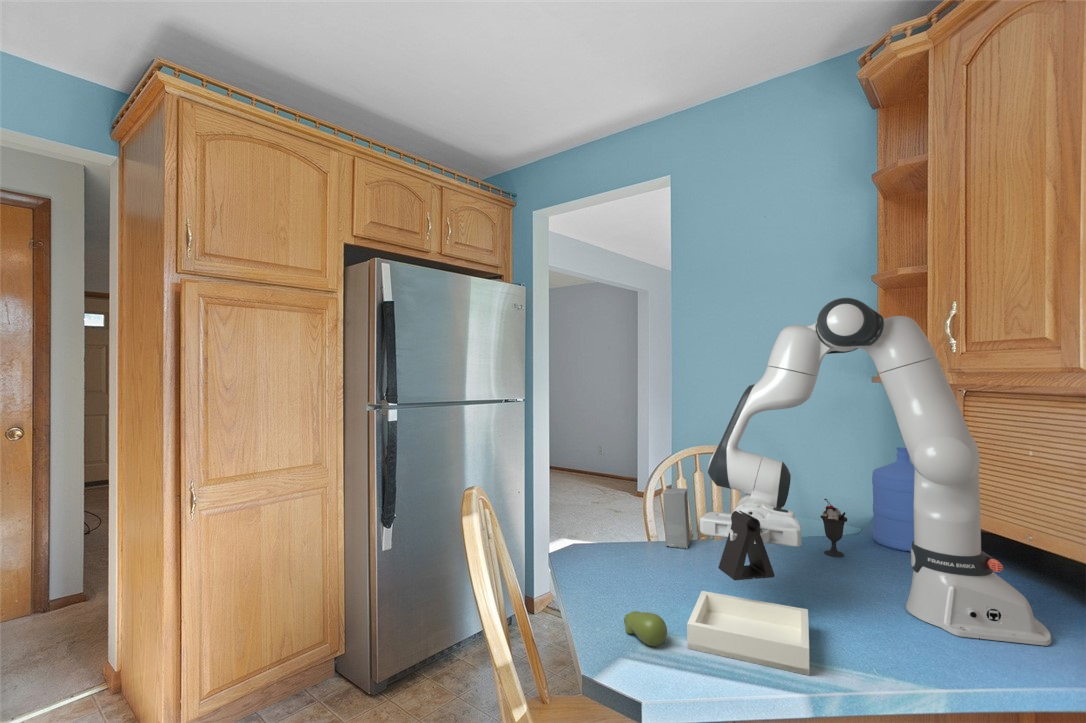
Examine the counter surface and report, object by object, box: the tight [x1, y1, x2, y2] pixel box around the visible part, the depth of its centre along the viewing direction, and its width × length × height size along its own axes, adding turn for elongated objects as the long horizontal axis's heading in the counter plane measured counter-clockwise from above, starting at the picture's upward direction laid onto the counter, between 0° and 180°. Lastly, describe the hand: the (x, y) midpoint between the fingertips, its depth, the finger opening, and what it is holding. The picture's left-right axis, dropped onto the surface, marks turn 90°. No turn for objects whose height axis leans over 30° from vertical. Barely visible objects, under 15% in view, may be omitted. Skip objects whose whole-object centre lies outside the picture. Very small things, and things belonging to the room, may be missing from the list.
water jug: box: [871, 447, 915, 553], centre depth 154 cm, size 16×16×28 cm
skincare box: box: [662, 487, 691, 550], centre depth 155 cm, size 8×7×16 cm
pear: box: [623, 610, 668, 647], centre depth 100 cm, size 6×5×10 cm
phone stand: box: [718, 510, 776, 581], centre depth 108 cm, size 9×6×12 cm, turn 99°
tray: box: [686, 590, 811, 677], centre depth 99 cm, size 20×16×4 cm
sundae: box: [820, 498, 848, 558], centre depth 146 cm, size 7×7×15 cm
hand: (745, 539), depth 107 cm, fingers closed on phone stand, 3 cm apart
